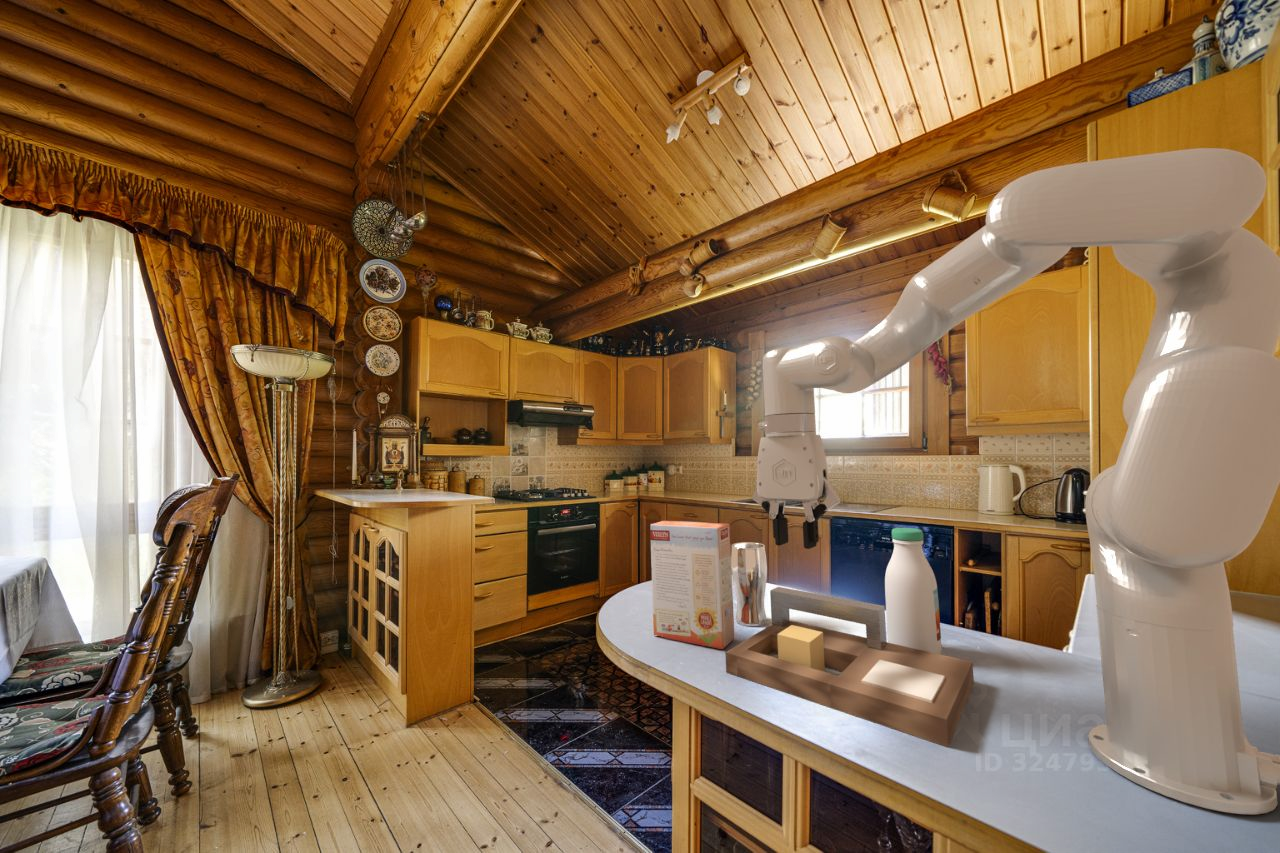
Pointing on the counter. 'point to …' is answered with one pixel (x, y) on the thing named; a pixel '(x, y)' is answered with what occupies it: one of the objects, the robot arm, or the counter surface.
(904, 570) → the milk bottle
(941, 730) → the brown wooden divided tray
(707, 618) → the cracker box
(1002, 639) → the counter surface
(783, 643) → the ochre block
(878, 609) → the gray bridge block
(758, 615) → the beer glass
